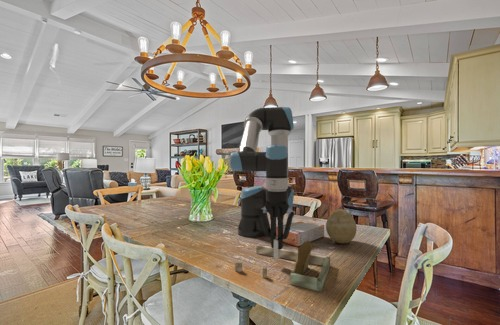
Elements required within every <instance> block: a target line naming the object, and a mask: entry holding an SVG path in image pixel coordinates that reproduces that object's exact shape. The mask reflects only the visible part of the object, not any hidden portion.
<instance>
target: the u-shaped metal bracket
mask: <svg viewBox="0 0 500 325" xmlns="http://www.w3.org/2000/svg"><path fill="white" fill-rule="evenodd" d="M255 247H256V249H255V250H256V251H255V252H256V254H259V255H264V256H268V257H274V248H272V247H271V246H268V245H267V246H266V245H261V244H256V246H255ZM297 253H298V250H290V249H284V248H282V249H280V257H279V259H286V260H290V261H295V262H296V256H297ZM234 262H235V263H234V270H235V271H234V272H237V273H242V272H243V262H242V261H240V260H236V261H234ZM309 264H311V265H317V266H321V269H320V272H319V275H318V277H315V276H314V277H313V276H308V275H304V274H303V275H300V274H296V273H294V272H290V275H289V277H290V278H289V280H290V281H289V282H290V285H291V286H292V285H293V286H297V287H300V288H303V289H304V288H305V289H308V290H313V291H317V292H322V291H323V288H324V285H325V282H326V279H327V276H328V273H329V270H330V268H331V256H330V257H329V256H327V255H326V256H325V255H321V254H313V253H310V258H309ZM267 277H268V267H266V266H263V267H262V278H263V279H266V278H267Z"/></svg>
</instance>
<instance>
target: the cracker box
mask: <svg viewBox="0 0 500 325" xmlns="http://www.w3.org/2000/svg"><path fill="white" fill-rule="evenodd" d="M285 226H286V223H284V224H283V234H284V230H285ZM276 235H277V236H276V238H278V225H276ZM324 237H325V224H322V223H321V224H320V223H317V222H311V221H307V220H304V219H303V220H302V219H300V220H296V221H292V223H291V227H290V231H289V235H288V237H287V238H286V239H283V243H286V244H289V245H292V246H294V247H300V246H301V245H302V244H303V243H304V242H306V241H309V242H311V243H312V242H313V241H316V240H319V239H321V238H324Z"/></svg>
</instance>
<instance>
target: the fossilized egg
mask: <svg viewBox="0 0 500 325" xmlns="http://www.w3.org/2000/svg"><path fill="white" fill-rule="evenodd" d="M325 228H326V229H325V230H326V232H327V235H328V237H329V238H330V239H331V240H332V241H333V242H335V243H336V244H347V243H350V242H352V240H353V239H354V238H355V236H356V234H357V229H358V228H357V224H356V220H355V219H354V218H353V216H352V214H350V212H348V211H347V210H345V209H343V208H338V209H335V210H334V211H332V212H331V213H330V214H329V216H328V218H327V219H326V223H325Z"/></svg>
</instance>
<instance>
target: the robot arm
mask: <svg viewBox="0 0 500 325" xmlns="http://www.w3.org/2000/svg"><path fill="white" fill-rule="evenodd" d="M294 128H295V127H294V117H293V111H292V108H291V107H288V106H287V107H286V106H277V107H260V108H257V109H255V110H252V111H251V112H250V113H249V114H248V115H247V116H246V117H245V119H244V121H243V132H242V136H241V140H240V143H239V147H238V151H235V152H234V151H233V152H231V153H230V155H229V156H230V157H229V165H230V166H229V167H230V169H231V170H232V172H233V171H234V172H265V174H266V175H265V186H262V185H260V186H259V185H258V186H257V185H256V186H250V187H245V188H243V189H241V190H240V191H241V192H240V220H239V223H238V227H237V234H238V235H240V236H243V237H247V238H258V237H263V236H266V237H267V238H268V237H269V238H270V247H272V248H274V256H273V259H274V260H279V259H280V258H279V257H280V249H284V242H283V239H286V238H287V237H288V235H289V231H290V227H291V223H292V222H293V218H294V217H295V215H296V211H295V210H293V206H294V205H293V204H294V197H295V189H292V185H291V184H290V183H289V135H290V134H291V132H292V131H293V130H294ZM262 131H267V133H268V135H269V136H270V145H267V146H266V147H265V148H266V149H265V151H257V150H258V144H259V139H260V133H261V132H262ZM268 214H269V216H268ZM286 214H287V218H286V222H285V224H286V226H285V230H284V234H283V225H284V218H285V215H286ZM269 218H270V220H269ZM277 226H278V238H276V236H277V235H276V227H277Z"/></svg>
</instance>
